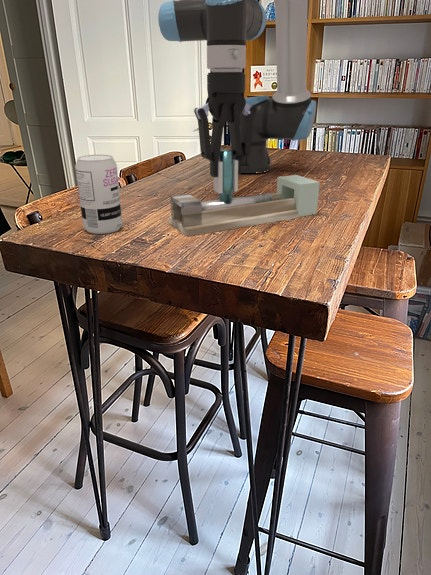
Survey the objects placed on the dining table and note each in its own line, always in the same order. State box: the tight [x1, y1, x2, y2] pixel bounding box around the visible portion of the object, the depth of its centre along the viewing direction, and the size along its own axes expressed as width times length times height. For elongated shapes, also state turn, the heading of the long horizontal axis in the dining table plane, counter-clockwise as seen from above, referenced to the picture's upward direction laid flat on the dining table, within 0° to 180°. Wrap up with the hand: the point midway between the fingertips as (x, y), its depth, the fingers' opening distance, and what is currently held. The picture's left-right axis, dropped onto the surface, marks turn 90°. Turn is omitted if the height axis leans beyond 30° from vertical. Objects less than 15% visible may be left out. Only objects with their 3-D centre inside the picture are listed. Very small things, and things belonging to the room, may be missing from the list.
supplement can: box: [74, 154, 124, 235], centre depth 93 cm, size 8×8×15 cm
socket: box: [276, 174, 320, 218], centre depth 107 cm, size 9×6×8 cm, turn 27°
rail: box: [168, 192, 299, 237], centre depth 100 cm, size 10×28×6 cm, turn 117°
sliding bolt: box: [201, 149, 274, 211], centre depth 97 cm, size 3×20×14 cm, turn 117°
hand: (225, 190), depth 97 cm, fingers closed on sliding bolt, 3 cm apart
